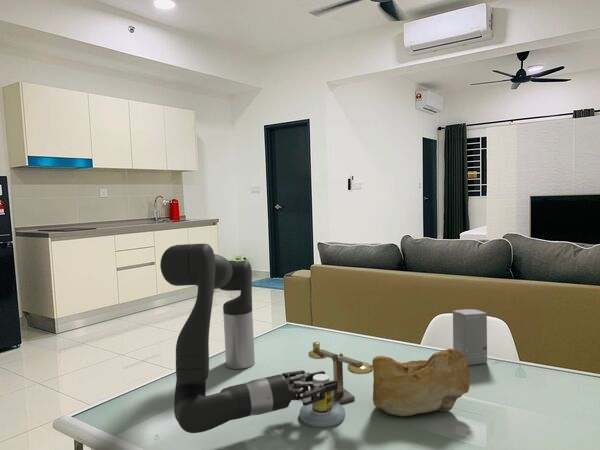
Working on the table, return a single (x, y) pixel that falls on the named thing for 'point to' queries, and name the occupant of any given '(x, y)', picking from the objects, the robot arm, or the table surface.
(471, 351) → the skincare box
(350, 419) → the table surface
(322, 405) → the supplement bottle
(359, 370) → the balance
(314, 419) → the dish
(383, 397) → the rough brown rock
